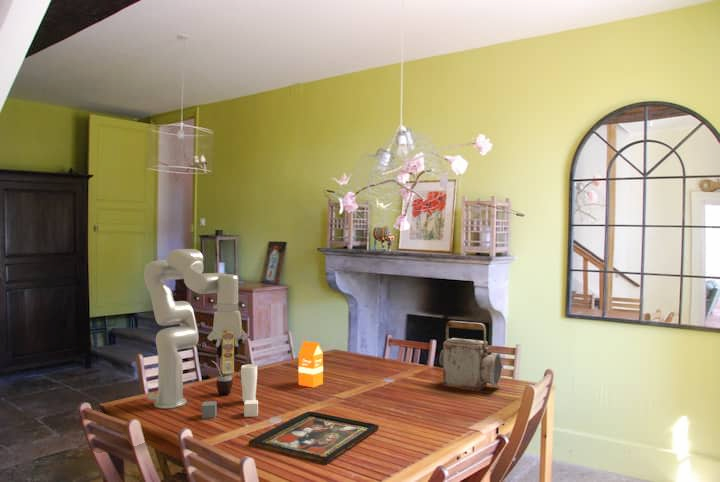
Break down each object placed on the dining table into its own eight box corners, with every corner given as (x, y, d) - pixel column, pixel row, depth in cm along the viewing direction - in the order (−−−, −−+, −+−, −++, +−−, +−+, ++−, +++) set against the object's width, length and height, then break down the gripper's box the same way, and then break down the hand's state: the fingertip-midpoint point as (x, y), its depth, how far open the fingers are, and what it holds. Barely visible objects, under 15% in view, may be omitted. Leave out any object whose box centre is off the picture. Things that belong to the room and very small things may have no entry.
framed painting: (298, 414, 212) (298, 407, 212) (382, 428, 199) (382, 420, 199) (241, 451, 177) (241, 442, 177) (339, 470, 164) (339, 461, 164)
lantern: (493, 394, 240) (493, 326, 240) (436, 385, 254) (436, 321, 254) (502, 385, 254) (503, 322, 254) (448, 378, 268) (448, 317, 267)
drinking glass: (253, 404, 224) (253, 368, 224) (238, 403, 226) (238, 367, 226) (259, 399, 231) (259, 364, 231) (244, 398, 232) (244, 363, 232)
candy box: (234, 373, 197) (234, 331, 197) (222, 374, 196) (222, 332, 196) (231, 367, 205) (232, 327, 205) (220, 368, 204) (220, 328, 204)
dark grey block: (201, 418, 207) (201, 405, 207) (203, 414, 212) (203, 401, 212) (215, 418, 207) (215, 405, 207) (216, 414, 212) (216, 401, 212)
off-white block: (244, 417, 209) (244, 404, 209) (245, 412, 214) (245, 400, 214) (257, 416, 210) (257, 403, 210) (258, 412, 215) (258, 399, 214)
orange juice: (313, 387, 250) (313, 344, 250) (298, 384, 255) (298, 342, 255) (323, 383, 257) (323, 341, 257) (308, 381, 261) (308, 339, 261)
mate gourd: (235, 394, 239) (235, 360, 239) (219, 397, 233) (219, 363, 233) (226, 390, 244) (226, 357, 244) (211, 394, 239) (211, 360, 238)
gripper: (202, 309, 196) (202, 359, 196) (250, 309, 198) (250, 358, 198) (205, 306, 203) (205, 355, 203) (251, 306, 205) (251, 354, 205)
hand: (227, 356), depth 201 cm, fingers closed on candy box, 4 cm apart
